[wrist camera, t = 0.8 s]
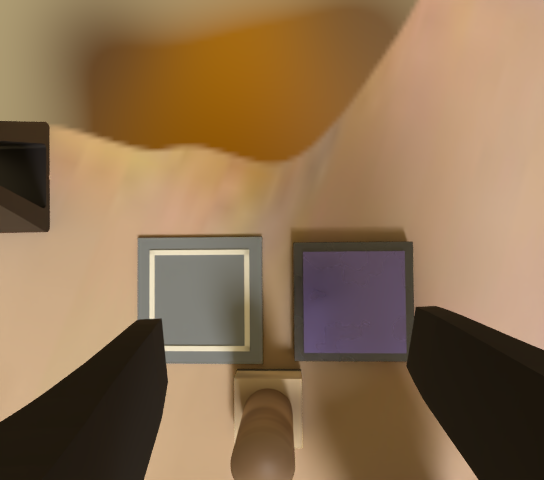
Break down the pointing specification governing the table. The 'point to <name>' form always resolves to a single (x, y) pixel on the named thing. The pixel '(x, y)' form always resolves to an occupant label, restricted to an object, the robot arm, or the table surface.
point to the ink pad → (353, 301)
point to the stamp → (266, 423)
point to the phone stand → (24, 177)
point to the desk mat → (204, 297)
